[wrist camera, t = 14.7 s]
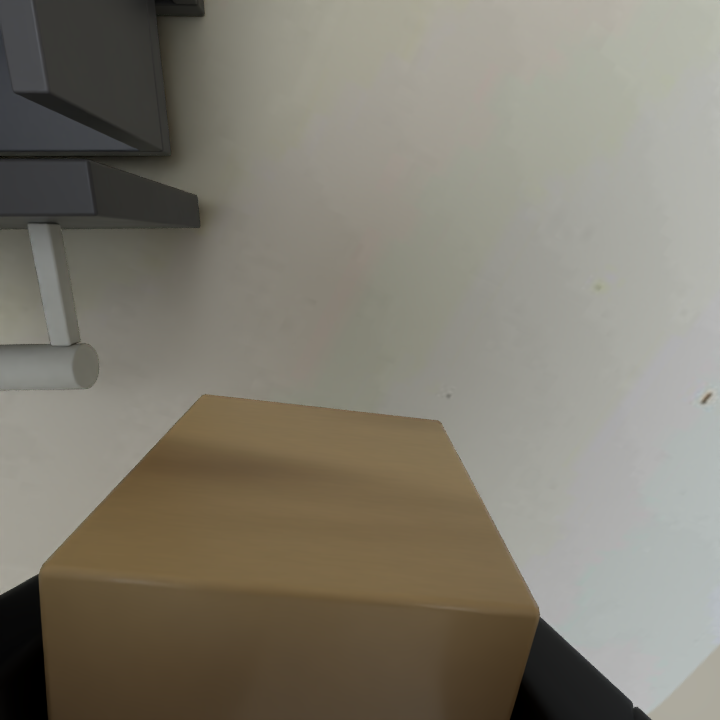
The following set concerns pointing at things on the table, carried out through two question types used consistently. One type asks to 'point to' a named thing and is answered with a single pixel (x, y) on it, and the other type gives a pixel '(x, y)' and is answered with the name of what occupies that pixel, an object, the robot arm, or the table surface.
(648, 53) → the table surface
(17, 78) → the drawer
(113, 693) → the block
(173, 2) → the cabinet
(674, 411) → the table surface
